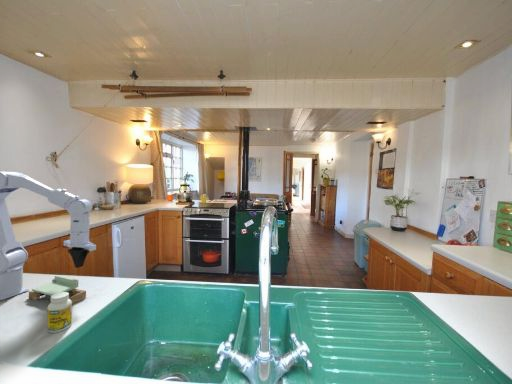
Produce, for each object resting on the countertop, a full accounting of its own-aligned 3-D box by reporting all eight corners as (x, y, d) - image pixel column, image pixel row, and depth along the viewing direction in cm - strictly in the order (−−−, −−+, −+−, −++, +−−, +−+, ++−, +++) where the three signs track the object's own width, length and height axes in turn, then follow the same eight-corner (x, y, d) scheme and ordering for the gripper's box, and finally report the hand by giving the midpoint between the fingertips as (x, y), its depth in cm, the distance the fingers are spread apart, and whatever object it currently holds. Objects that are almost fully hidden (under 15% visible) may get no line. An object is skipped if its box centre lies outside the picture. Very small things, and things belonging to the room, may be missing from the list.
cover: (29, 290, 81) (30, 282, 81) (57, 280, 90) (57, 273, 89) (54, 296, 78) (54, 289, 78) (80, 286, 86) (80, 279, 86)
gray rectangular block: (45, 299, 82) (45, 293, 82) (51, 296, 84) (51, 290, 84) (66, 301, 82) (66, 294, 82) (72, 297, 84) (72, 291, 84)
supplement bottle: (72, 320, 71) (73, 289, 71) (70, 329, 66) (71, 296, 66) (48, 325, 68) (49, 293, 68) (45, 335, 63) (45, 301, 63)
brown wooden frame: (28, 298, 82) (28, 290, 82) (54, 288, 90) (54, 280, 90) (65, 307, 77) (65, 298, 77) (89, 296, 85) (89, 288, 85)
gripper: (54, 230, 86) (54, 267, 87) (82, 235, 82) (81, 273, 82) (74, 227, 93) (74, 261, 93) (101, 231, 88) (100, 267, 89)
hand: (79, 266), depth 88 cm, fingers closed
